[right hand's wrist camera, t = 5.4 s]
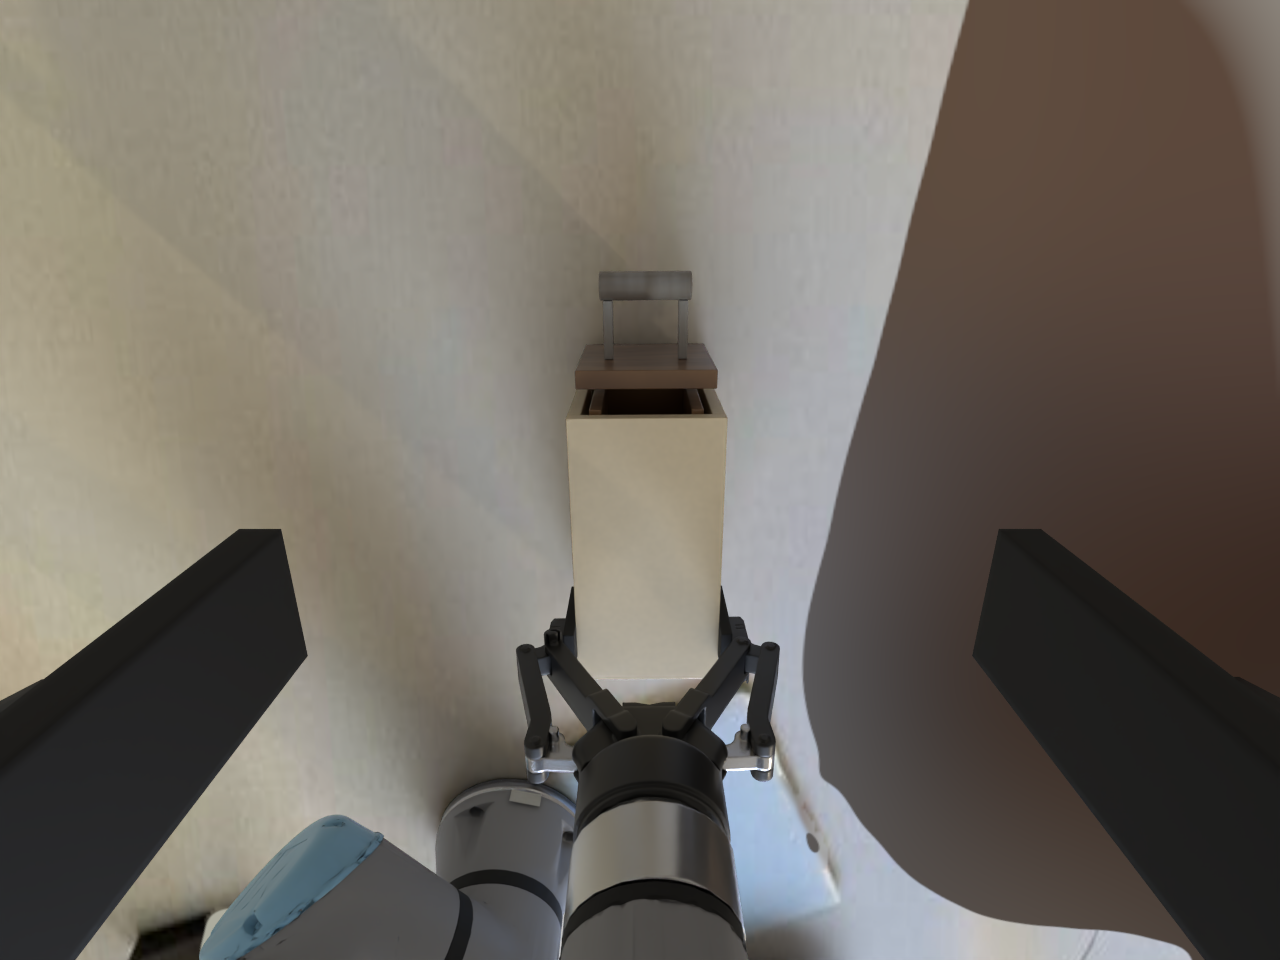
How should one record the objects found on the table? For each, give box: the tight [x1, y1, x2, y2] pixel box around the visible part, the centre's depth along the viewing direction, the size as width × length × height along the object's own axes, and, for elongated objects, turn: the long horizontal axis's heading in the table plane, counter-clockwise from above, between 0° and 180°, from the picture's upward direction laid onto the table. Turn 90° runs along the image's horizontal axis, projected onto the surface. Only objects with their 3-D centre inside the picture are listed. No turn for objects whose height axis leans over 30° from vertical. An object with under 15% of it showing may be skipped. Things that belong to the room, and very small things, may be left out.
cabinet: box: [566, 389, 727, 679], centre depth 51 cm, size 20×10×11 cm, turn 0°
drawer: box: [575, 271, 718, 415], centre depth 48 cm, size 24×9×10 cm, turn 0°
